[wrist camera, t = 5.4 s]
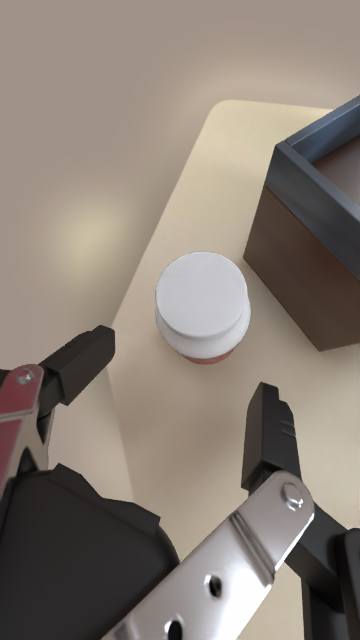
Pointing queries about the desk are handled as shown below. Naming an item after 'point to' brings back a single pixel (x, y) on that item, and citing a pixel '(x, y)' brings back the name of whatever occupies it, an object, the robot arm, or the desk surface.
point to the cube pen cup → (314, 228)
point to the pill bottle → (202, 306)
